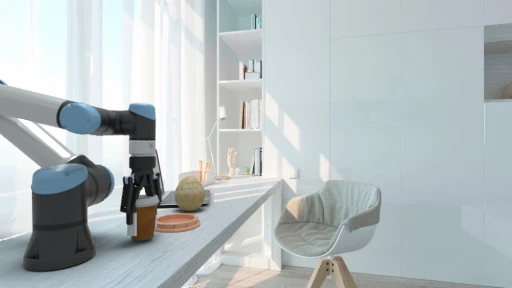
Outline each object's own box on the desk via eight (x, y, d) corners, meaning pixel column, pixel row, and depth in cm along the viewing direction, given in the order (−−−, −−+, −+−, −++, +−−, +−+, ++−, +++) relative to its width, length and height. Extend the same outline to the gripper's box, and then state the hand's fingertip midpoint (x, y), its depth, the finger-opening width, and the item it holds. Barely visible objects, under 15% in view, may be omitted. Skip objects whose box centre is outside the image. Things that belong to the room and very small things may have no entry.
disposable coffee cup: (148, 243, 83) (148, 200, 83) (118, 241, 85) (118, 199, 85) (165, 233, 93) (165, 194, 93) (137, 231, 95) (137, 193, 95)
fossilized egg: (195, 215, 119) (195, 178, 119) (168, 213, 123) (168, 177, 123) (210, 208, 132) (209, 175, 131) (185, 207, 135) (184, 174, 135)
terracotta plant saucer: (154, 235, 94) (154, 227, 94) (147, 222, 109) (147, 216, 109) (206, 228, 101) (206, 221, 101) (193, 217, 116) (193, 211, 116)
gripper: (127, 157, 78) (127, 243, 78) (173, 154, 98) (173, 223, 98) (104, 156, 80) (104, 240, 80) (154, 154, 100) (154, 221, 100)
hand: (142, 230), depth 89 cm, fingers closed on disposable coffee cup, 8 cm apart
